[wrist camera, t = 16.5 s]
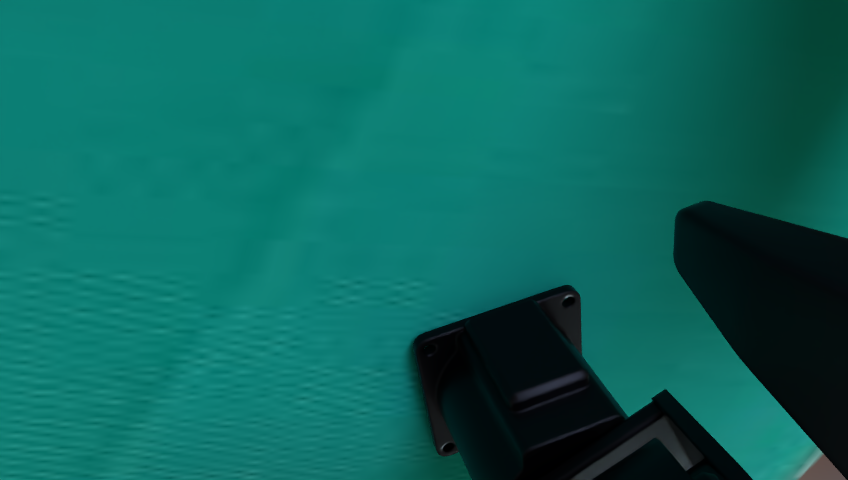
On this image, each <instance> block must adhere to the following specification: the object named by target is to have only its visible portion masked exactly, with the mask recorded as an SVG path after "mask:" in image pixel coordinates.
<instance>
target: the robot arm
mask: <svg viewBox="0 0 848 480" xmlns="http://www.w3.org/2000/svg"><path fill="white" fill-rule="evenodd" d="M673 257H674V263H675V266H676V268H677V270H678V272H679V274H680V275H681V277H682V278H683V279H684V281H685V282H686V284H687V285H688V287H689V288H690V289H691V291H692V292H693V294H694V295H695V296H696V298H697V299H698V301H699V302H700V303H701V305H702V306H703V308H704V309H705V311H706V312H707V313H708V315H709V316H710V318H711V319H712V320H713V322H714V323H715V325H716V326H717V328H718V329H719V330H720V332H721V333H722V335H723V336H724V337H725V339H726V340H727V342H728V343H729V344H730V346H731V347H732V348H733V350H734V351H735V352H736V354H737V355H738V356H739V358H740V359H741V360H742V361H743V362H744V364H745V365H746V366H747V367H748V368H749V370H750V371H751V372H752V373H753V374H754V375H755V376H756V378H757V379H758V380H759V381H760V382H761V383H762V384H763V386H764V387H765V388H766V389H767V390H768V391H769V392H770V393H771V395H772V396H773V397H774V398H775V399H776V400H777V401H778V402H779V404H780V405H781V406H782V407H783V408H784V409H785V410H786V412H787V413H788V414H789V415H790V416H791V417H792V418H793V419H794V421H795V422H796V423H797V424H798V425H799V426H800V427H801V429H802V430H803V431H804V432H805V433H806V434H807V435H808V436H809V438H810V439H811V440H812V441H813V442H814V443H815V444H816V445H817V447H818V448H819V449H820V450H821V451H822V452H823V453H824V455H825V456H826V457H827V458H828V459H829V460H830V461H831V462H832V463H833V465H834V466H835V467H836V468H837V469H838V470H839V471H840V473H842V475H843V476H844V477H845V478H846V479H847V480H848V238H844V237H840V236H837V235H833V234H829V233H826V232H822V231H818V230H814V229H811V228H807V227H803V226H800V225H796V224H792V223H789V222H785V221H781V220H778V219H774V218H770V217H767V216H763V215H759V214H755V213H752V212H748V211H744V210H741V209H737V208H733V207H730V206H726V205H722V204H719V203H715V202H711V201H702V202H699V203H696V204H693V205H691V206H688V207H686V208H683V209H681V210H680V211H678V213H677V215H676V217H675V231H674V251H673ZM567 297H568V298H567ZM565 298H567V299H566V300H565V301H563V300H564V299H565ZM431 344H432V345H431ZM427 345H431V346H430V347H428V348H425V347H426V346H427ZM424 348H425V349H424ZM413 350H414V355H415V359H416V364H417V369H418V373H419V378H420V383H421V387H422V392H423V396H424V401H425V406H426V410H427V415H428V420H429V424H430V429H431V433H432V438H433V443H434V446H435V448H436V450H437V453H438V454H439V455H441V456H449V455H452V454H455V453H458V452H459V453H460V455H461V457H462V459H463V462H464V464H465V466H466V468H467V470H468V472H469V474H470V477H471V479H472V480H753V479H752V478H751V477H750V476H749V475H748V473H747V472H746V471H745V470H744V469H743V468H742V467H741V466H740V465H739V464H738V463H737V462H736V461H735V460H734V459H733V458H732V457H731V455H730V454H729V453H728V452H727V451H726V450H725V449H724V448H723V447H722V446H721V445H720V444H719V443H718V442H717V441H716V440H715V439H714V438H713V437H712V436H711V435H710V434H709V433H708V432H707V431H706V430H705V429H704V428H703V427H702V426H701V425H700V424H699V423H698V422H697V421H696V420H695V419H694V418H693V416H692V415H691V414H690V413H689V412H688V411H687V410H686V409H685V408H684V407H683V406H682V405H681V404H680V403H679V402H678V401H677V400H676V399H675V398H674V397H673V396H672V395H671V394H670V393H669V392H668V391H667V390H666V389H665V390H663V391H662V392H660V393H659V394H657V395H656V396H654V397H653V398H651V399H652V402H651V403H649V404H648V405H646V406H645V407H643V408H642V409H640V410H639V411H637V412H636V413H634V414H633V415H631V416H630V417H628V416H627V415H626V413H625V412H624V411H623V409H622V408H621V407H620V405H619V404H618V403H617V402H616V400H615V399H614V398H613V396H612V395H611V394H610V392H609V391H608V390H607V388H606V387H605V386H604V384H603V383H602V382H601V380H600V379H599V378H598V376H597V375H596V374H595V373H594V371H593V370H592V369H591V367H590V366H589V365H588V363H587V362H586V361H585V359H584V358H583V357H582V347H581V302H580V295H579V293H578V292H577V291H576V290H575V289H574V288H573V287H572V286H570V285H564V286H561V287H558V288H555V289H552V290H549V291H546V292H543V293H540V294H537V295H534V296H531V297H528V298H525V299H522V300H519V301H517V302H514V303H511V304H508V305H505V306H502V307H499V308H496V309H493V310H490V311H487V312H484V313H481V314H478V315H475V316H472V317H469V318H467V319H464V320H461V321H458V322H455V323H452V324H449V325H446V326H443V327H440V328H437V329H434V330H431V331H428V332H425V333H423V334H421V335H419V336H418V337H417V338H416V339H415V341H414V343H413Z"/></svg>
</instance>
